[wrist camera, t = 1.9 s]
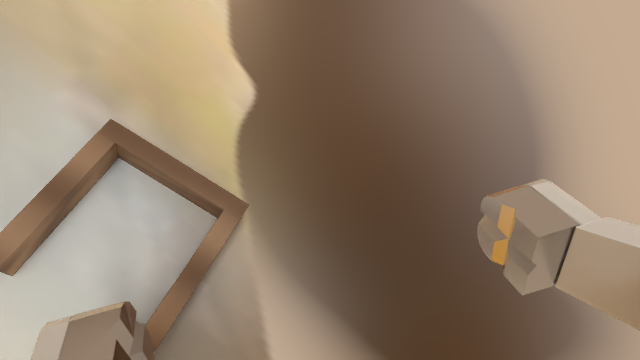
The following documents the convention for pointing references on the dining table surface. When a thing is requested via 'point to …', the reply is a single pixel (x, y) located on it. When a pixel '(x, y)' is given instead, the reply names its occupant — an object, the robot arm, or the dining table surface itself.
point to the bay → (82, 175)
